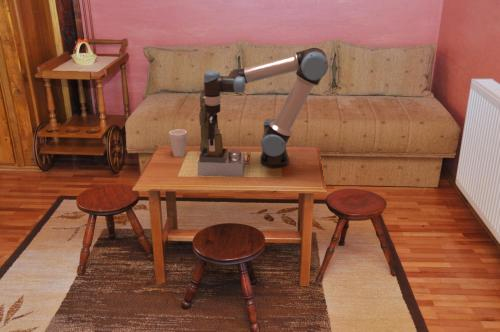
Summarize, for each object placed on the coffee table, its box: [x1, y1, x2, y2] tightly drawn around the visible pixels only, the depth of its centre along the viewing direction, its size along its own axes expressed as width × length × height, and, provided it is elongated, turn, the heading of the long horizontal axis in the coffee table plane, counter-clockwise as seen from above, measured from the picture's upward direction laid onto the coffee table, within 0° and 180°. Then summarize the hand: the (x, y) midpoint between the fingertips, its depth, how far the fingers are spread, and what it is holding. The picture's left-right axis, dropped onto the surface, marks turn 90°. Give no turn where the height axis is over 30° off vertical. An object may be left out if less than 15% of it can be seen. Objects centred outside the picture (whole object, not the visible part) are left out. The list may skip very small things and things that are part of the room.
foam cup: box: [168, 128, 188, 158], centre depth 280 cm, size 10×9×13 cm
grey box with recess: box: [197, 147, 246, 178], centre depth 263 cm, size 22×18×10 cm
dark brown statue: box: [198, 90, 209, 153], centre depth 276 cm, size 9×12×35 cm
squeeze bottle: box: [207, 124, 224, 157], centre depth 257 cm, size 8×8×18 cm
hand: (213, 147), depth 259 cm, fingers open, 9 cm apart
